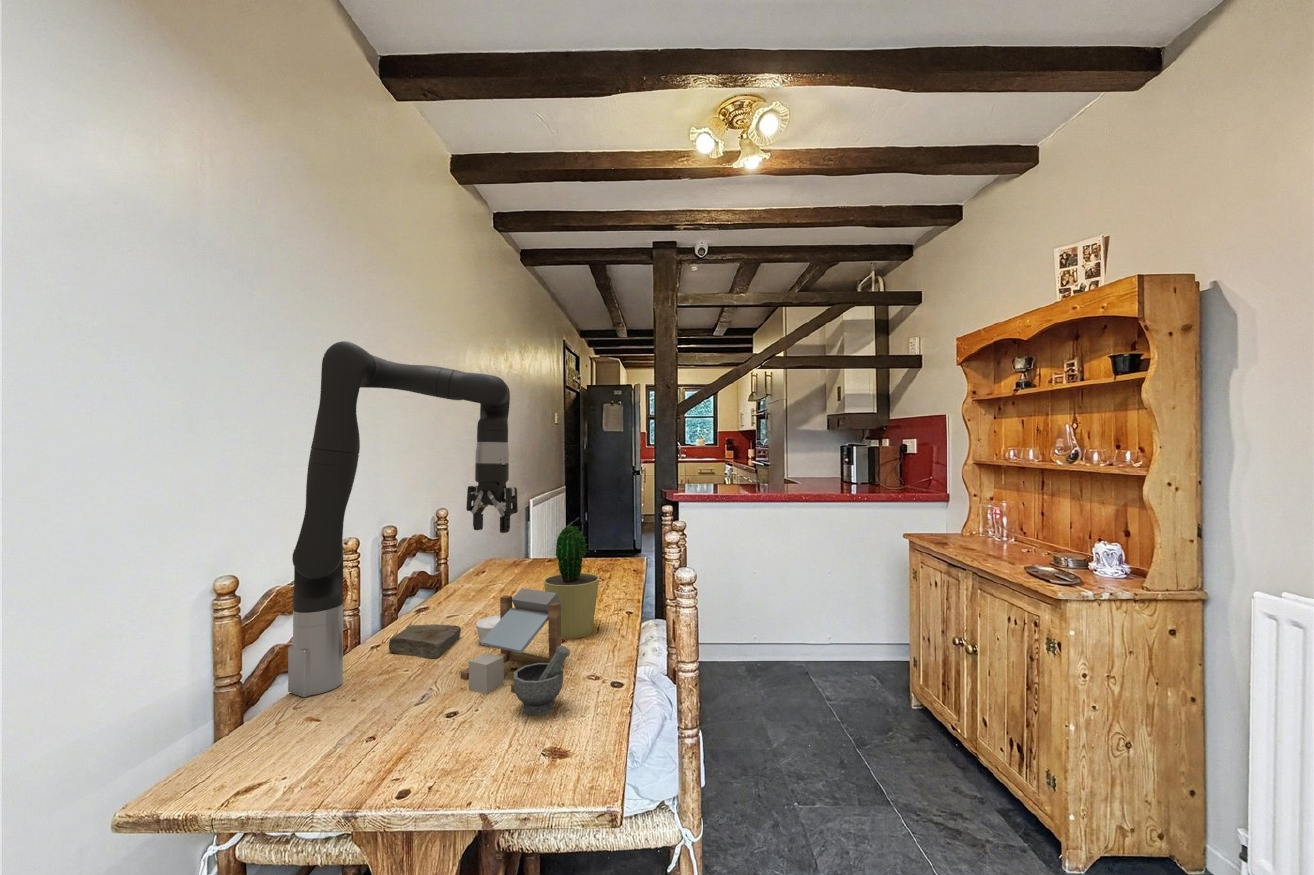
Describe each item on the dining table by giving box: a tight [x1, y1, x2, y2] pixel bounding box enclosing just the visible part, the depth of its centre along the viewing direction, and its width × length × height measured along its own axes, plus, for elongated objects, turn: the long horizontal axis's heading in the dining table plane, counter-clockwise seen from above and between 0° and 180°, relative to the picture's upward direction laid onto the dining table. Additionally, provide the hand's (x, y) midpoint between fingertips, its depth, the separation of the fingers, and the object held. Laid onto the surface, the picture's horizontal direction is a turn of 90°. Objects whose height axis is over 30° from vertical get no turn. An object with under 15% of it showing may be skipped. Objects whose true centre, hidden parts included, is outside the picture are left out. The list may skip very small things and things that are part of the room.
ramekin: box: [475, 614, 500, 647], centre depth 144 cm, size 11×11×5 cm
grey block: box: [468, 652, 505, 695], centre depth 115 cm, size 5×5×6 cm
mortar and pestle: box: [513, 644, 571, 716], centre depth 105 cm, size 11×9×12 cm
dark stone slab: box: [388, 623, 462, 659], centre depth 140 cm, size 17×15×4 cm
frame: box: [460, 594, 565, 693], centre depth 122 cm, size 15×17×15 cm
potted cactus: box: [543, 525, 600, 640], centre depth 150 cm, size 15×15×30 cm
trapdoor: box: [480, 588, 563, 653], centre depth 125 cm, size 16×12×5 cm
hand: (491, 531), depth 125 cm, fingers open, 8 cm apart
